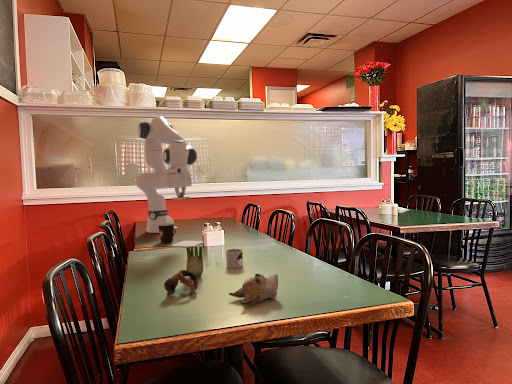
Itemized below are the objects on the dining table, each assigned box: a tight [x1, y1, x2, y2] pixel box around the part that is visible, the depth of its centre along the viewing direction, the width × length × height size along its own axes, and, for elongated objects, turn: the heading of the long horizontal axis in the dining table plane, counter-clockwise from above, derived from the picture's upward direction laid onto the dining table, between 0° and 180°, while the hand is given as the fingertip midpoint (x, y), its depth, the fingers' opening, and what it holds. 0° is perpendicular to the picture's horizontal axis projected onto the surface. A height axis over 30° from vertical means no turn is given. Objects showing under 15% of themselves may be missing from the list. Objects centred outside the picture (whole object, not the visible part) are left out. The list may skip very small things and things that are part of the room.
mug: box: [225, 248, 244, 270], centre depth 152 cm, size 10×7×7 cm, turn 168°
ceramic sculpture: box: [228, 273, 279, 306], centre depth 111 cm, size 11×9×15 cm
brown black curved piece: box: [163, 269, 199, 296], centre depth 120 cm, size 12×10×8 cm
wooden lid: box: [170, 192, 192, 201], centre depth 197 cm, size 10×10×3 cm
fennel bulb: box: [185, 245, 204, 279], centre depth 137 cm, size 6×5×12 cm
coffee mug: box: [158, 223, 177, 244], centre depth 205 cm, size 12×9×10 cm
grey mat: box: [171, 240, 205, 249], centre depth 198 cm, size 13×13×1 cm
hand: (180, 195), depth 197 cm, fingers closed on wooden lid, 3 cm apart
